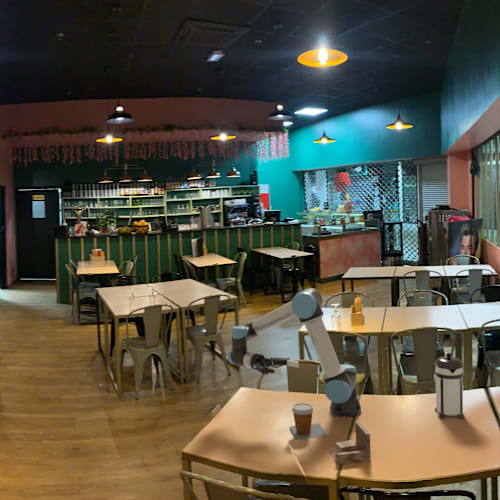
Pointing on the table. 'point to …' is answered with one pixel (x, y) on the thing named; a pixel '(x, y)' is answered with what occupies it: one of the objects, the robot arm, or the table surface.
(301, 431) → the disposable coffee cup
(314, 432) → the slate mat
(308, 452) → the table surface
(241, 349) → the robot arm
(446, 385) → the coffee press
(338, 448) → the offcut stack
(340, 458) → the offcut rack
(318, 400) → the table surface
